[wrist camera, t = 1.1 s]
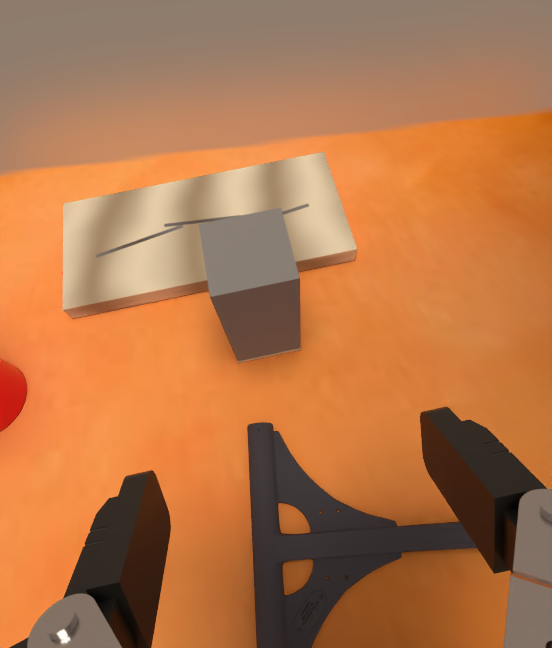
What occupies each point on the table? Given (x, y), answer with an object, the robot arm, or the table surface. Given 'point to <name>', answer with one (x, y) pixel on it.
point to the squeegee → (317, 543)
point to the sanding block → (253, 283)
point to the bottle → (11, 393)
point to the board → (192, 231)
